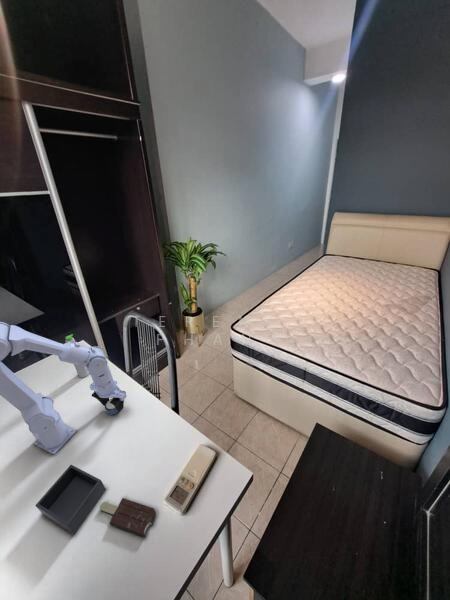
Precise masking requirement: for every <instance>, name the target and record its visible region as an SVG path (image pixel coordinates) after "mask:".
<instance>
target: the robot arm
mask: <svg viewBox="0 0 450 600" xmlns="http://www.w3.org/2000/svg"><path fill="white" fill-rule="evenodd" d="M24 351H33V352H38V353H42V354H48V355H51V356H57V357H58V359H59V361H60V362H63V363H67V364H70V365H74V364H75V365H79V366H84V367H87V370H88V371H89V372H90V373H89V375H90V378H91V379H92V383H91V384H89V389H90V390H91V391H93V393H91V397H92V398H95V399H96V400H97V401H98V402H99V403H100V404H101V405H102V406H103V407H105V404H106V402H107V401H108V400H110V399H112V398H113V399H112V400H111V401H110V403H111V404H113V405H114V406H115V408H116V409H117V411H118V413H121V412H122V410H124V407H125V406H124V405H125V404H124V403H125V399H126V398H127V392H126V391H125V390H122V389H121V388H120V387H119V386H118V385H117V384H118V381H117V380H114V378H113V375H112V372H111V369H110V367H109V365H108V360H107V358H106V355H105V353H104V351H103V350H102V349H101V348H100V347H98V346H91V347H88V346H84V345H81V343H80V342H79V341H78V342H77V341H75V343H72V342H68V343H66V342H65V343H60V342H58V341H55V340H52V339H50V338H46V337H43V336H41V335H39V334H35V333H34V332H33V333H32V332H30V331H27V330H25V329H23V328H21V327H20V326H17V325H14V324H8V323H6V322H3V321H0V397H2V398H3V399H4V400H6V401H7V402H8V403H9V404H10V405H12V406H13V407H14V408H16V409H17V410H18V411H20V414H21V417H22V419H23V422H24V423H25V424H27V426H28V430H29V432H30V433H31V434H32V436H33V437H34V439H35V442H33V444H34V445H35V446H37V447H38V448H40V449H43V450H45V451H46V452H48V453H50V454H52V455H56V454H57V452H58V451H59V450H60V449H61V448H62V447H64V445H65V444H66V443H67V442H68V441H69V440H70V439H71V438H72V437H73V435H74V434H76V430H75V429H72V428H70V427H68V426H67V425H66V424H65V421H64V419H63V418H62V417H61V414H60V413H59V411H57V410H55V407H54V399H53V398H52V397H51V396H47V395H45V394H42V393H41V392H38V393H36V392H35V391H34V390H33V389H31V387H29V386H28V385H27V384H26V383H25V382H24V381H23V380H22V379H21V378H20V377H19V376H17V374H15V373H14V372H13V371H12V370H11V369H10V368H9V367H8V366H7V365H5V364H4V362H2V361H3V360H4V359H5V358H6V357H7V356H8V355H9V353H10V352H11V355H10V356H12V357H13V356H15V355H17V354H20V353H22V352H24Z"/></svg>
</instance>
